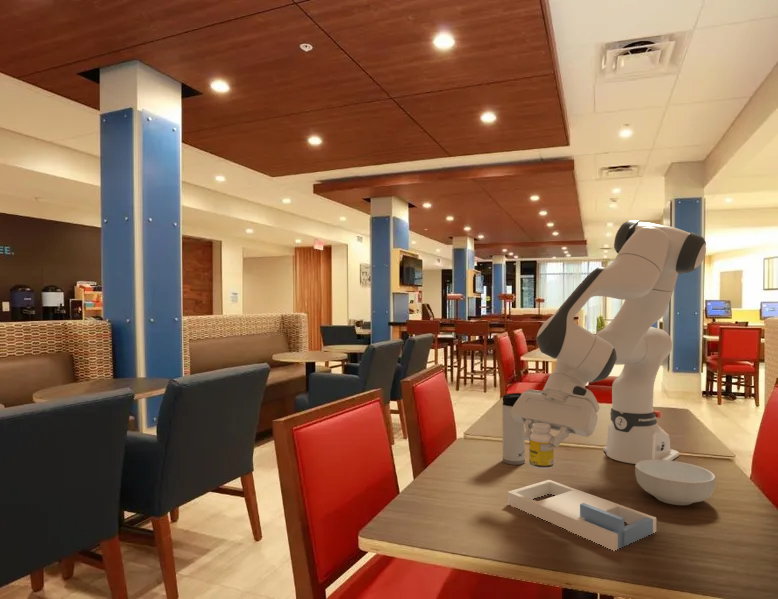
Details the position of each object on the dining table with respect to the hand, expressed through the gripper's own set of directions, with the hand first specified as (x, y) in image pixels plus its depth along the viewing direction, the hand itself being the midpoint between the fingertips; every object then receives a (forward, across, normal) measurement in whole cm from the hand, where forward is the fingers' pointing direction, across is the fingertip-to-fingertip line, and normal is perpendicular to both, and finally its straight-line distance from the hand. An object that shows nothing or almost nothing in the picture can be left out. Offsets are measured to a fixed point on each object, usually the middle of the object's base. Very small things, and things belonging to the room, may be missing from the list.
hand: (540, 442), depth 121 cm
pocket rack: (+11, +10, +9) cm, 17 cm away
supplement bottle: (+4, 0, +5) cm, 6 cm away
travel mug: (-5, -22, +26) cm, 35 cm away
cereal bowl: (-8, +20, +28) cm, 36 cm away
